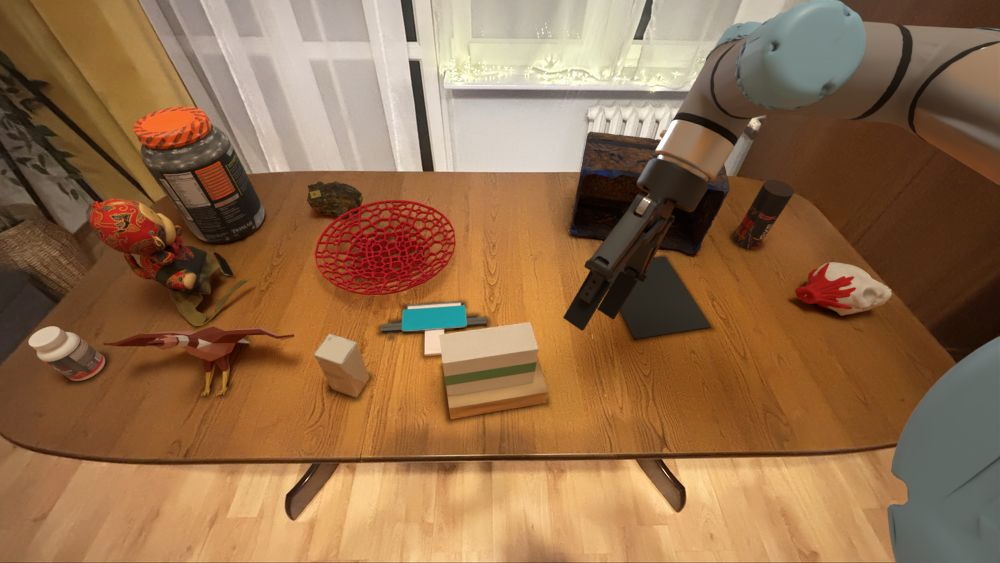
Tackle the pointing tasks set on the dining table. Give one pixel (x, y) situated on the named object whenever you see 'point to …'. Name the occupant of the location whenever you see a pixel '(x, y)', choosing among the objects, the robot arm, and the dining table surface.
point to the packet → (488, 358)
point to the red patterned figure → (160, 253)
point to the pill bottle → (67, 353)
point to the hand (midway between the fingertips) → (591, 318)
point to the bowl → (385, 249)
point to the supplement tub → (199, 173)
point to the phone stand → (433, 322)
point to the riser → (500, 398)
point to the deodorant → (763, 214)
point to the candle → (843, 289)
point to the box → (342, 365)
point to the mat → (660, 304)
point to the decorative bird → (201, 346)
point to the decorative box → (634, 191)
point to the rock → (334, 198)
